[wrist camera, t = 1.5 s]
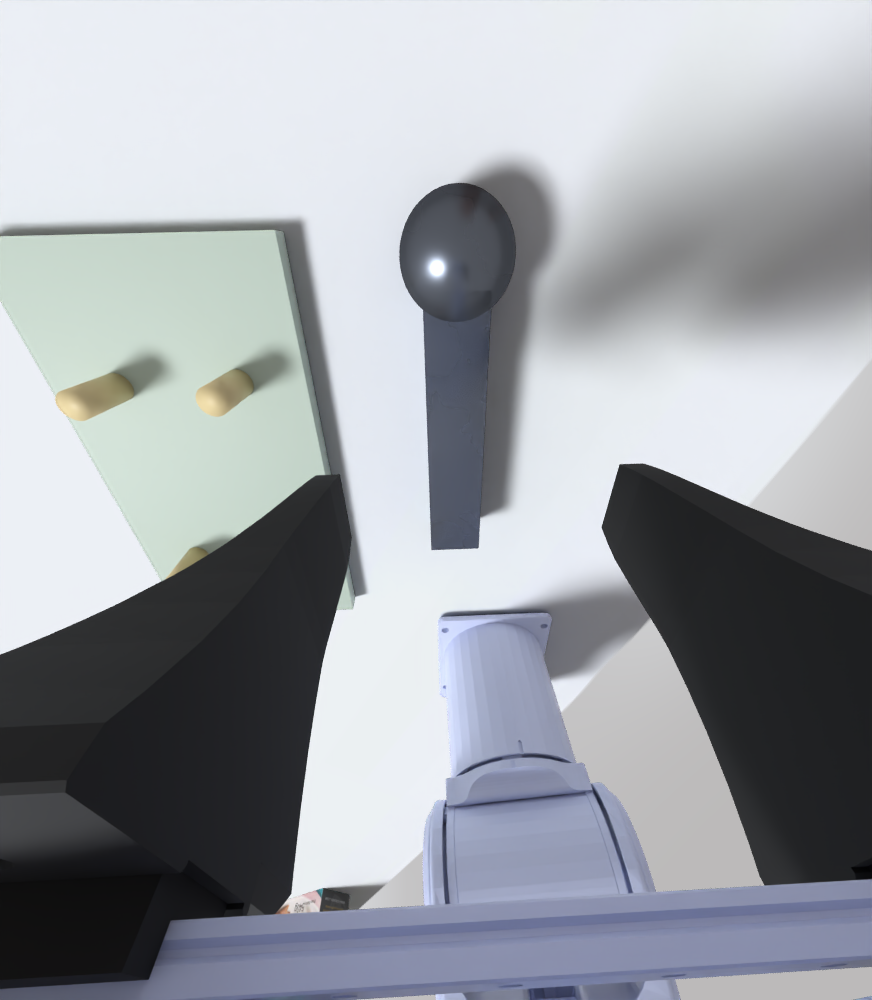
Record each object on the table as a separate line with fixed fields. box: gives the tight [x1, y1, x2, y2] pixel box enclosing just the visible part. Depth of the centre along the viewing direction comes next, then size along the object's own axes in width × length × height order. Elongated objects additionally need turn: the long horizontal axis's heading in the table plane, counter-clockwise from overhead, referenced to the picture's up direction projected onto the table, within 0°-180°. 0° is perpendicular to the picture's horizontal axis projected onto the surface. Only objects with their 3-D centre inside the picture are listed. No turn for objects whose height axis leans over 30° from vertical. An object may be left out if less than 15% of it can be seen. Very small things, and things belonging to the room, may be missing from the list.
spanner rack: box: [0, 230, 355, 610], centre depth 18 cm, size 20×11×4 cm, turn 1°
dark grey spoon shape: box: [400, 183, 516, 550], centre depth 17 cm, size 15×4×3 cm, turn 1°
